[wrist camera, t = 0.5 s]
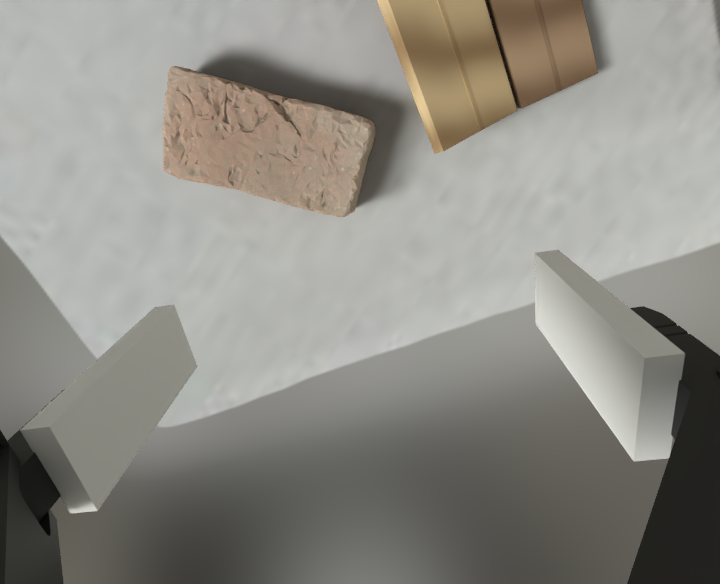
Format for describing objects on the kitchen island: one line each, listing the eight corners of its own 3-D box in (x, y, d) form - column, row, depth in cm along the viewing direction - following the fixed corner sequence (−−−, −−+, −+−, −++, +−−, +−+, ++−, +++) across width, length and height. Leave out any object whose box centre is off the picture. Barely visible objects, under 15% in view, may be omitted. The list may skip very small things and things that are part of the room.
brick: (378, 118, 37) (377, 120, 33) (355, 212, 40) (352, 224, 36) (189, 68, 36) (162, 62, 32) (181, 167, 40) (156, 174, 35)
